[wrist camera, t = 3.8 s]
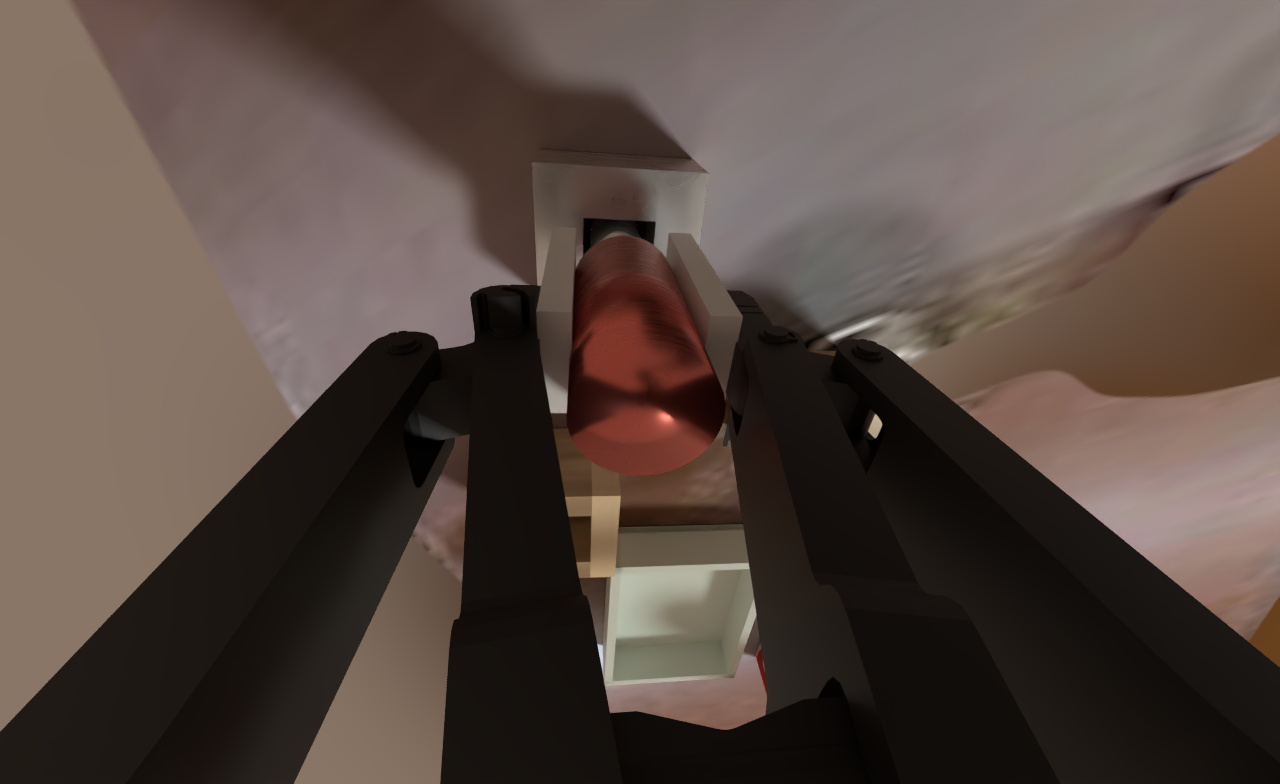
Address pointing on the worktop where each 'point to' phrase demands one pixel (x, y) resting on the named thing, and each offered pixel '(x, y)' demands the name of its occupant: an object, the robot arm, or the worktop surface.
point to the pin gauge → (637, 360)
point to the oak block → (589, 508)
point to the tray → (677, 604)
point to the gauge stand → (615, 195)
